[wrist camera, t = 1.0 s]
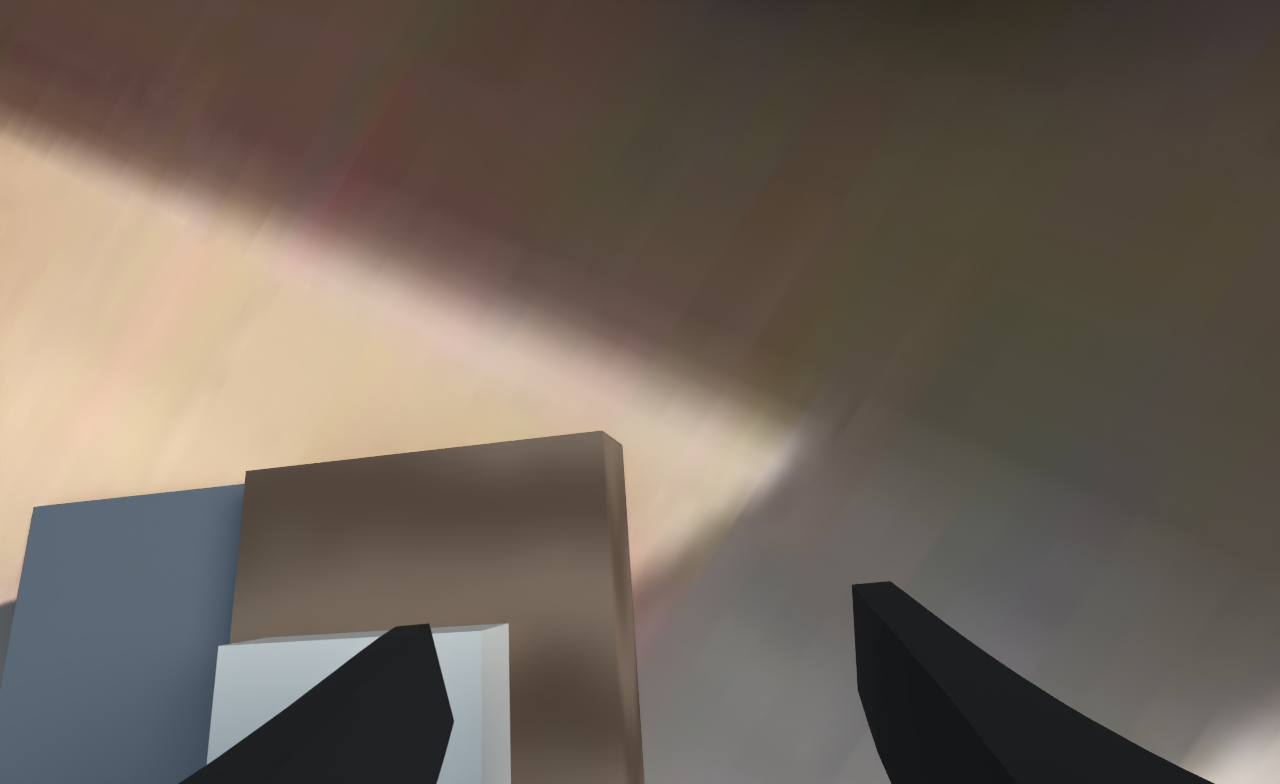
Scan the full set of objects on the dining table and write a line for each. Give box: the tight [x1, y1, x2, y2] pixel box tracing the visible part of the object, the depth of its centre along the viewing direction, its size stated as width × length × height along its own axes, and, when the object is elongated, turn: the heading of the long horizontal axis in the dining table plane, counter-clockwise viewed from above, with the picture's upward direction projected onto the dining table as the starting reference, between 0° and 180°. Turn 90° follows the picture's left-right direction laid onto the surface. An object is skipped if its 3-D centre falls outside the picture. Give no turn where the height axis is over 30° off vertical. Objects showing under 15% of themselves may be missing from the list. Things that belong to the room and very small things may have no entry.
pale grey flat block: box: [207, 623, 511, 784], centre depth 19 cm, size 9×6×2 cm, turn 94°
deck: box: [229, 431, 644, 784], centre depth 21 cm, size 18×14×3 cm
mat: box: [0, 484, 245, 784], centre depth 25 cm, size 14×13×1 cm
